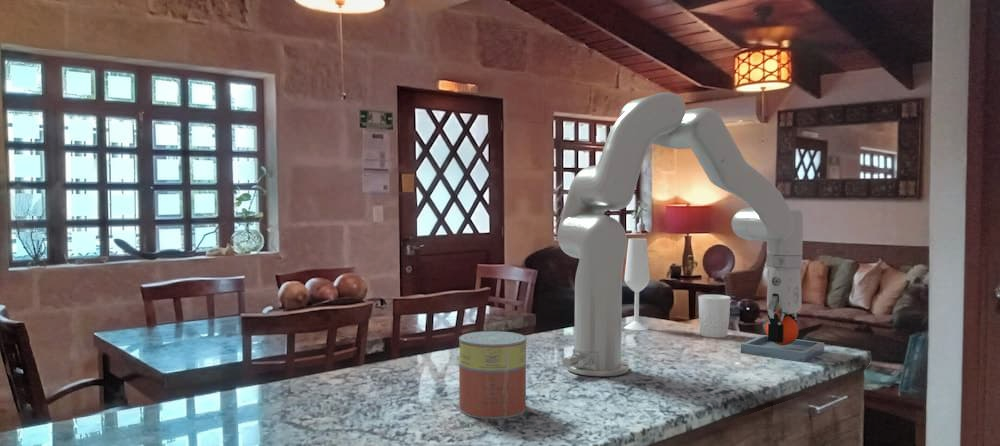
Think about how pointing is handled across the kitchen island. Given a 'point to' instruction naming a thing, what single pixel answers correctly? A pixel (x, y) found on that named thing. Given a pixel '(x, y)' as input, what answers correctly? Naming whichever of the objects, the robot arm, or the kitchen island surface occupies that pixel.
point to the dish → (783, 349)
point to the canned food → (492, 374)
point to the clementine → (787, 330)
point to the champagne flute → (637, 275)
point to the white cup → (714, 315)
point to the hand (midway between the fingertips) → (782, 338)
